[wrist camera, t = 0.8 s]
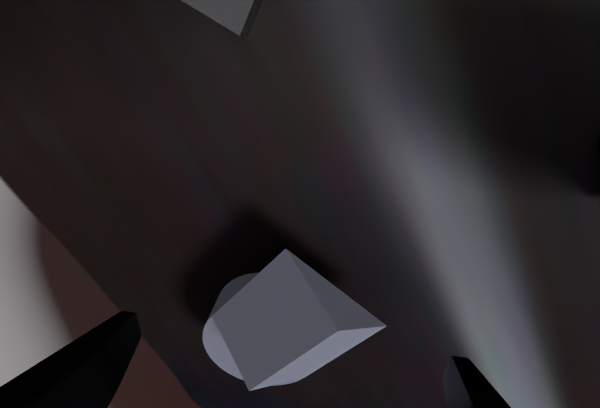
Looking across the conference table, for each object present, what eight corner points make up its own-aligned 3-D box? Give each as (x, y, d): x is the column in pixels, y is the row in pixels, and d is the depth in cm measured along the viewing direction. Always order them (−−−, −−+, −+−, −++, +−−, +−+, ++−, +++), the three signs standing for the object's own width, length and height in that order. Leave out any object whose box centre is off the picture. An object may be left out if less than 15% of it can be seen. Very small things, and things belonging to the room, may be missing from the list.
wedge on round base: (292, 220, 23) (198, 311, 29) (275, 285, 17) (160, 384, 23) (381, 291, 25) (277, 363, 31) (393, 371, 19) (261, 443, 25)
